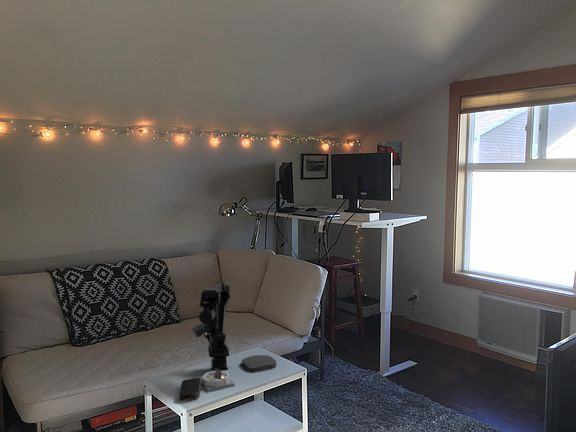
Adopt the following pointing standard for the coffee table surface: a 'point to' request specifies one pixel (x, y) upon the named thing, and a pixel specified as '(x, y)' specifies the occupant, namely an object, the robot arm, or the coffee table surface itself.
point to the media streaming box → (258, 363)
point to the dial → (216, 375)
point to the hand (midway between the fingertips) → (212, 351)
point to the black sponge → (190, 389)
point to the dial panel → (216, 382)
